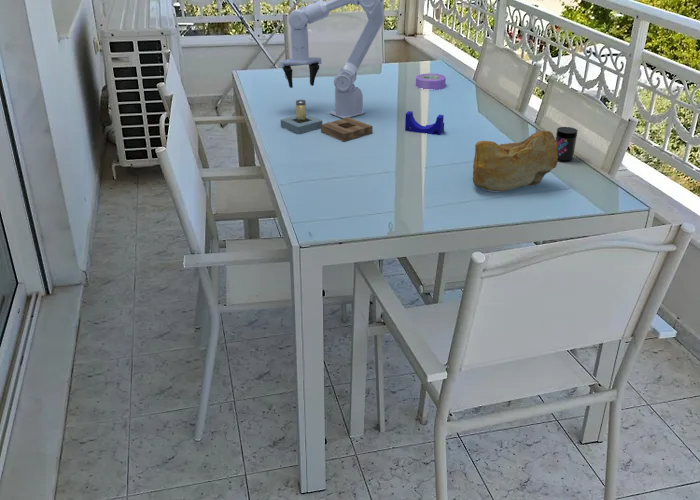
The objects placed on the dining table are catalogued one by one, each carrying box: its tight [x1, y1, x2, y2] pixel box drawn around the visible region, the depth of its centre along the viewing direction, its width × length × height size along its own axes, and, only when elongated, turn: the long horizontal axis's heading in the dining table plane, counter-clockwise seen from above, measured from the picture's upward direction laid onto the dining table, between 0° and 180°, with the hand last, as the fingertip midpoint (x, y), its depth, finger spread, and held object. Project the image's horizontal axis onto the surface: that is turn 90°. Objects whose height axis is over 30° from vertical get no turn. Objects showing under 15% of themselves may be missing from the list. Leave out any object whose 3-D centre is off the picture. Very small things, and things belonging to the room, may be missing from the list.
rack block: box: [279, 113, 323, 135], centre depth 235 cm, size 10×10×2 cm
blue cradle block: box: [404, 110, 445, 136], centre depth 231 cm, size 12×4×6 cm, turn 68°
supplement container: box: [555, 126, 579, 163], centre depth 207 cm, size 6×6×9 cm
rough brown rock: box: [472, 130, 559, 193], centre depth 192 cm, size 23×17×15 cm
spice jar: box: [295, 99, 307, 123], centre depth 233 cm, size 3×3×9 cm
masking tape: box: [415, 72, 447, 91], centre depth 278 cm, size 12×12×4 cm
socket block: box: [320, 117, 373, 142], centre depth 230 cm, size 12×12×2 cm
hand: (301, 86), depth 245 cm, fingers open, 7 cm apart
